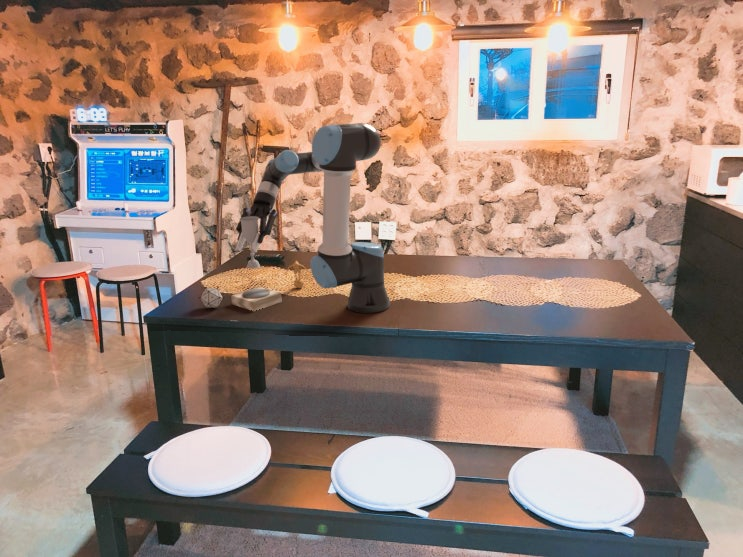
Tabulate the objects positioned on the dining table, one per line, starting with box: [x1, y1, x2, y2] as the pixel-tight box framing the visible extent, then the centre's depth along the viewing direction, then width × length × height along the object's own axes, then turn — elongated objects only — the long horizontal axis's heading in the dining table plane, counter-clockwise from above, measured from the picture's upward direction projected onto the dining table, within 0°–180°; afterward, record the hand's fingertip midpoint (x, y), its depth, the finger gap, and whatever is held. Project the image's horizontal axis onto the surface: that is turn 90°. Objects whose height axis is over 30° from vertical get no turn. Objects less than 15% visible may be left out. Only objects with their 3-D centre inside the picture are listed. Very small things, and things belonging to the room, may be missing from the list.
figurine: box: [286, 260, 309, 289], centre depth 235 cm, size 8×6×12 cm
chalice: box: [239, 216, 261, 270], centre depth 215 cm, size 7×7×18 cm
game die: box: [197, 286, 226, 310], centre depth 216 cm, size 9×8×10 cm
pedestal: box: [231, 286, 283, 312], centre depth 221 cm, size 13×13×4 cm
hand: (246, 249), depth 212 cm, fingers closed on chalice, 6 cm apart
